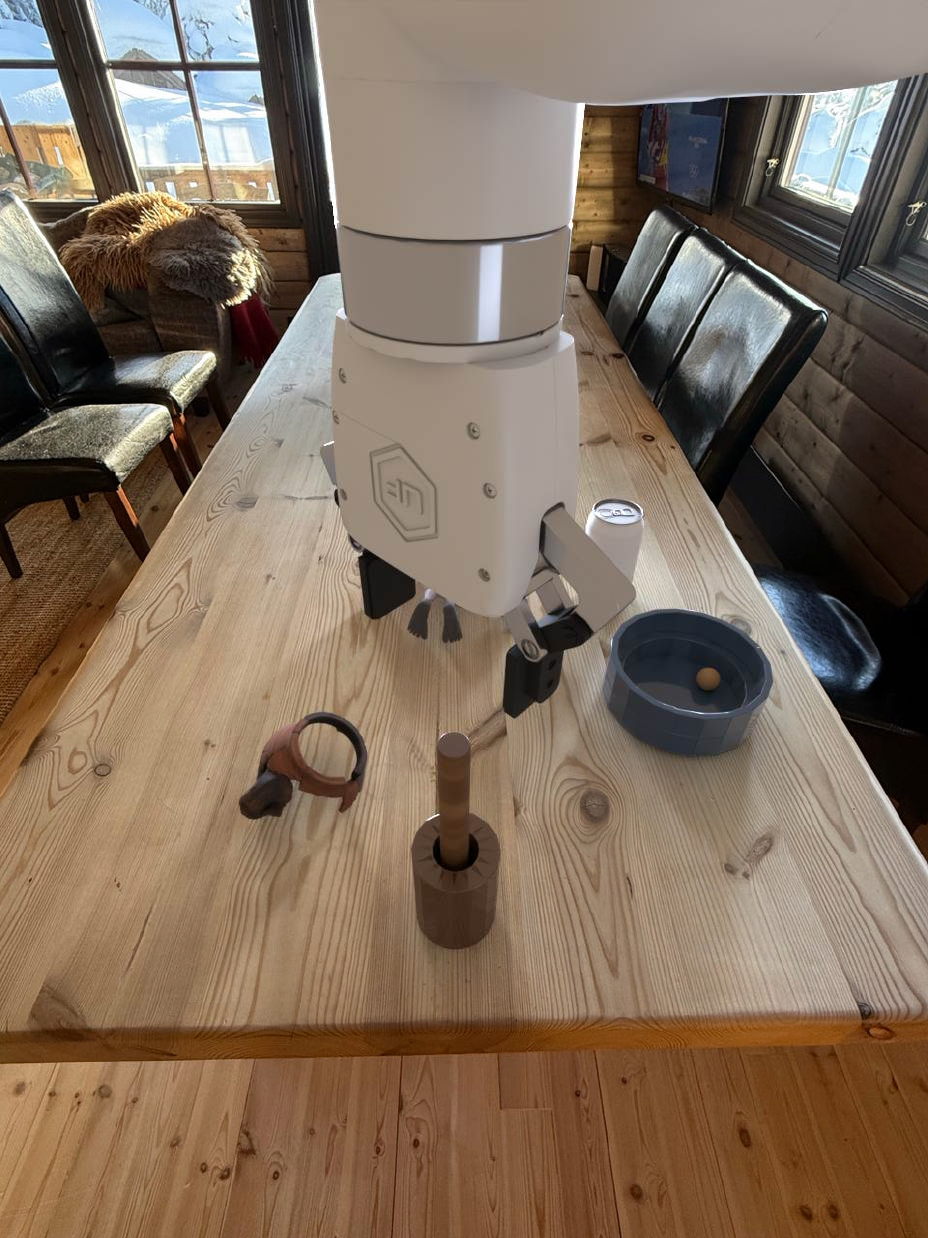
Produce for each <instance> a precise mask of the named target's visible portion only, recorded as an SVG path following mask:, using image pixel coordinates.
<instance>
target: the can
mask: <svg viewBox="0 0 928 1238" xmlns="http://www.w3.org/2000/svg"><path fill="white" fill-rule="evenodd" d="M643 517H644V511H643V509H642V508H641V506H640V505H638V504H637V503H635V502H634V501H632V500H628V499H625V498H619V497H608V498H607V497H606V498H603V499H600V500H598V501H597V502H595V503H594V504H593V506H592V511H591V512H590V513H589V515H588V517H587V521H586V527H585V530H584V532H585V533H586V534H587V535H588V536H589V537H590V538H591V539H592V540H593V541H594V542H595V544H596V545H597V546H598V547H599V548H600V549H601V550H602V551H603V552H604V553H605V554H606V556H607V557H608V558H609V559H610V560H611V561H612V562H613V563H614V564H615V565H616V567H617V568H618V569H619V570H620V571H621V572H622V573H623V574H624V575H625V576H626V577H627V579H628V580H629V581H630V582H631V583H632V584H633V581H634V577H635V573H636V567H637V563H638V558H639V554H640V550H641V545H642V540H643V537H644V536H643V535H644V531H645V521H644V519H643Z"/></svg>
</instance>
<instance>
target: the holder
mask: <svg viewBox="0 0 928 1238" xmlns="http://www.w3.org/2000/svg"><path fill="white" fill-rule="evenodd" d="M501 853H502V850H501V846H500V841H499V837H498V834H497V833H496V831H495V830H494V829H493V827H492V826H491V825H490V823H489V822H488V821H487V820H485V819H483V818H482V817H480V816H478V815H477V814H474V813H473V812H469V855H468V868H467V869H465V870H464V871H457V872H454V871H449V870H445V869H444V868H442V867H441V860H440V829H439V813H438V814H436V815H434V816H431V817H430V818H428V819H427V820H425V821H424V823H422V825H420V827H419V828H418V830H416V831H415V834H414V837H413V841H412V843H411V846H410V855H411V856H410V857H411V865H412V866H411V867H412V876H413V877H412V878H413V889H414V890H413V891H414V900H415V901H414V902H415V911H416V919H417V922H418V926H419V928H420V929H421V931H422V933H423V934H424V936H426V938H427V939H428V940H429V941H430V942H432V943H434V944H435V945H437V946H439V947H441V948H443V949H448V950H464V949H468V948H470V947H473V946H475V945H477V944H478V943H480V941H482V940H483V939H484V938H486V936H487V935H488V933H489V932H490V930H491V929H492V926H493V924H494V921H495V917H496V911H497V904H498V891H499V890H498V889H499V880H500V879H499V878H500V868H501V867H500V866H501V864H500V863H501Z"/></svg>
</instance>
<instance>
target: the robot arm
mask: <svg viewBox="0 0 928 1238" xmlns="http://www.w3.org/2000/svg"><path fill="white" fill-rule="evenodd" d="M311 8H312V17H313V27H314V36H315V48H316V55H317V56H316V57H317V65H318V75H319V84H320V94H321V104H322V112H323V121H324V131H325V141H326V142H325V143H326V150H327V160H328V170H329V179H330V189H331V197H332V206H333V216H334V225H335V234H336V235H335V236H336V244H337V254H338V255H337V256H338V262H339V274H340V282H341V292H342V299H343V300H342V301H343V307H342V308H341V309H339V310H338V311H337V312H336V314H335V322H334V332H333V340H332V352H331V353H332V355H331V371H330V373H331V377H330V380H331V381H330V383H331V385H330V386H331V388H330V391H331V393H330V395H331V397H330V398H331V425H332V426H331V428H332V441H330V442H329V443H326V444H324V445H321V446H320V448H319V452H320V453H319V454H320V458H321V460H322V463H323V464H324V467H325V469H326V471H327V474H328V476H329V479H330V481H331V484H332V486H335V487H336V488H335V489H334V491H333V499H334V503H335V505H336V506H337V507H338V508H339V511H340V517H341V521H342V525H343V527H344V529H345V530H346V532H347V540H348V543H349V545H350V546H351V548H352V549H353V550H354V551H355V552H356V553H358V554H359V553H361V555H359V556H358V557H357V561H358V562H357V563H358V571H359V579H360V586H361V595H362V603H363V611H364V615H365V616H366V617H368V618H369V619H371V620H372V621H377V620H380V619H382V618H383V617H385V616H386V615H388V614H390V613H391V612H393V611H395V610H396V609H398V608H400V607H401V606H403V605H405V604H406V603H407V602H409V601H411V600H413V599H414V598H415V597H416V594H417V586H416V585H417V584H416V582H418V583H420V584H421V585H423V586H424V585H425V586H426V587H428V588H430V589H431V590H433V591H435V592H436V593H438V594H439V595H441V596H443V597H444V598H446V599H448V600H450V601H451V602H453V603H454V605H457V606H458V607H461V608H462V609H464V610H466V611H467V612H470V613H472V614H474V615H477V616H480V617H483V618H490V619H497V618H501V616H502V620H503V621H504V623H505V625H506V627H507V628H508V630H509V633H510V635H511V636H512V638H513V640H514V642H515V644H513V645H512V646H511V647H510V648H509V649H508V650H507V651H506V654H505V664H504V678H503V693H502V708H503V712H504V714H506V715H507V716H509V717H510V718H512V719H517V718H518V717H519V716H521V715H522V714H523V713H524V712H525V711H526V710H527V709H529V708H530V707H531V706H532V705H533V704H534V703H537V704H543V703H545V702H546V701H547V700H548V699H549V698H550V697H552V696H553V695H554V693H555V692H556V691H557V689H558V687H559V684H560V681H561V675H562V668H563V661H564V653H565V651H568V650H572V649H574V648H578V647H581V646H583V645H584V644H585V643H587V642H588V641H589V640H590V639H591V638H592V637H594V636H595V635H597V633H598V632H600V631H601V630H602V629H603V628H604V627H606V626H607V625H608V624H609V623H610V622H611V621H613V619H615V618H616V617H617V616H618V615H620V613H621V612H623V611H624V610H625V609H626V608H628V606H630V605H631V604H632V603H633V602H634V601H635V600H636V598H637V590H636V587H635V586H634V584H633V582H632V583H631V582H630V581H629V580H628V579H627V577H626V576H625V575H624V574H623V573H622V572H621V571H620V570H619V569H618V568H617V567H616V565H615V564H614V563H613V562H612V561H611V560H610V559H609V558H608V557H607V556H606V554H605V553H604V552H603V551H602V550H601V549H600V548H599V547H598V546H597V545H596V544H595V542H594V541H593V540H592V539H591V538H590V537H589V536H588V535H587V534H586V533H585V530H584V529H583V528H582V527H581V526H580V525H579V524H578V522H576V514H577V503H578V491H579V490H578V489H579V488H578V487H579V472H580V471H579V470H580V469H579V468H580V466H579V465H580V441H581V439H580V437H581V433H580V431H581V430H580V428H581V427H580V426H581V425H580V393H579V377H578V365H577V356H576V355H577V353H576V345H575V337H574V336H573V334H570V333H568V332H566V331H563V323H564V322H563V321H564V313H565V301H566V294H567V293H566V292H567V281H568V272H569V261H570V252H571V251H570V250H571V244H572V243H571V242H572V241H571V240H572V231H573V219H574V212H575V204H576V203H575V202H576V194H577V193H576V192H577V184H578V183H577V182H578V174H579V173H578V172H579V163H580V162H579V161H580V154H581V153H580V152H581V142H582V134H583V133H582V132H583V122H584V113H585V112H584V111H585V105H590V106H615V107H616V106H617V107H618V106H641V105H649V104H652V105H653V104H667V103H668V104H669V103H693V102H694V103H695V102H705V101H709V100H714V99H722V98H724V99H725V98H740V97H741V98H742V97H745V98H746V97H760V96H761V97H762V96H793V95H794V96H798V95H800V96H801V95H819V94H820V95H822V94H830V93H831V94H832V93H837V92H845V91H849V90H855V89H862V88H865V87H872V86H876V85H881V84H885V83H889V82H894V81H899V80H902V79H907V78H912V77H915V76H916V77H917V76H919V75H924V74H928V0H311ZM561 577H562V578H563V579H564V580H565V581H566V582H567V583H568V585H570V586H571V588H572V589H573V590H574V592H575V593H576V595H577V597H578V604H574V602H573V601H572V599H571V597H570V595H569V592H568V591H567V589H566V586H565V584H564V583H563V580H562V578H561ZM534 592H535V593H536V595H537V597H538V599H539V601H540V603H541V605H542V607H543V609H544V611H545V613H546V615H544V616H543V617H542V618H540V619H539V620H537V619H536V617H535V616H534V614H533V611H532V609H531V608H530V605H529V603H528V604H527V602H526V600H525V599H524V598H525V597H527V598H528V596H530V595H531V594H533V593H534Z"/></svg>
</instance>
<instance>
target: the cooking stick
mask: <svg viewBox="0 0 928 1238" xmlns="http://www.w3.org/2000/svg"><path fill="white" fill-rule="evenodd" d="M471 753H472V743H471V740H470V738H469V737H468V736H467V735H466V734H464V733H462V732H460V731H449V732H446V733H444V734H442V735H441V736H440V737H439V738H438V740H437V742H436V762H437V763H436V764H437V765H436V767H437V792H438V793H437V795H438V797H437V799H438V814H439V829H440V860H441V867H442V868H444V869H445V870H449V871H454V872H457V871H464V870H465V869H467V868H468V855H469V813H470V803H471Z"/></svg>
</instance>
